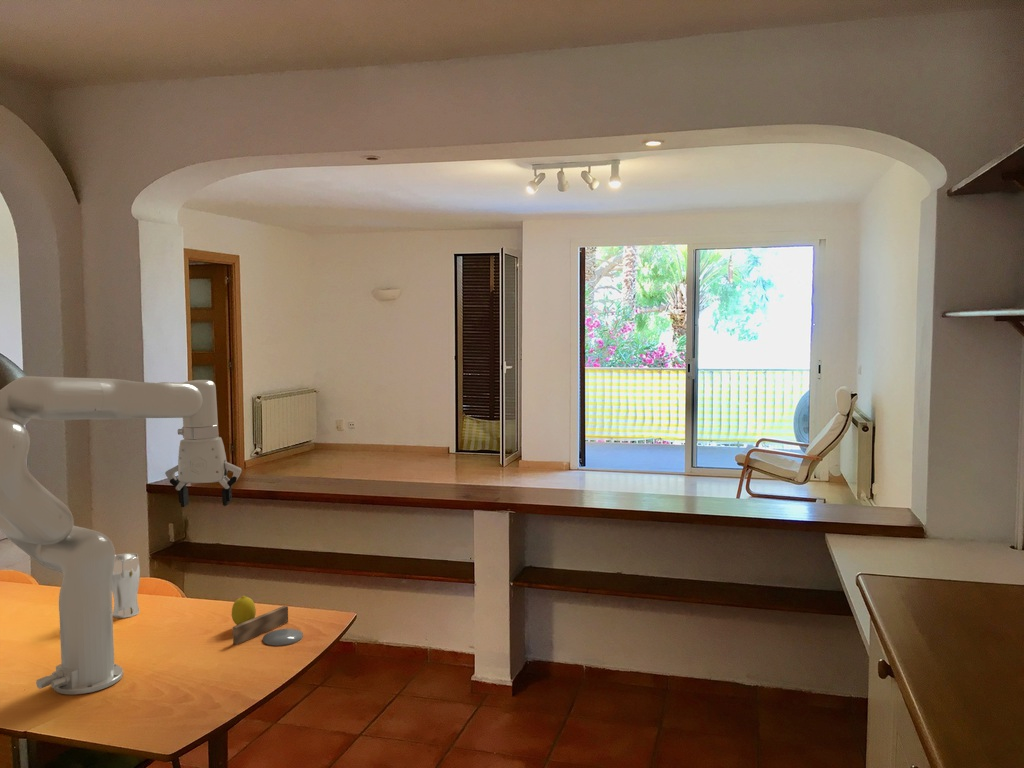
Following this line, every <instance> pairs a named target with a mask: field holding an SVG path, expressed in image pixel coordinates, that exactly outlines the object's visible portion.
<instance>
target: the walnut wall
mask: <svg viewBox="0 0 1024 768" xmlns="http://www.w3.org/2000/svg"><path fill="white" fill-rule="evenodd" d="M286 622H288V623H289V606H288V605H282V606H280V607H278V608H275V609H274V610H270V611H268V612H266V613H263V614H261V615H259V616H255V618H253V619H251V620H248V621H246V622H243V623H241V624H239V625H236V624H235V625H234V626H233V627H232V643H233V645H236V646H237V645H239V644H242V643H244V642H247V641H249V640H251V639H253V638H255V637H258V636H260V635H263V634H264V633H265V634H266V633H268V632H269V631H273V630H274V629H277V628H278V626H279V627H280V625H281V626H283V625H285V624H287V623H286ZM284 623H285V624H284ZM282 624H283V625H282Z"/></svg>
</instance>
